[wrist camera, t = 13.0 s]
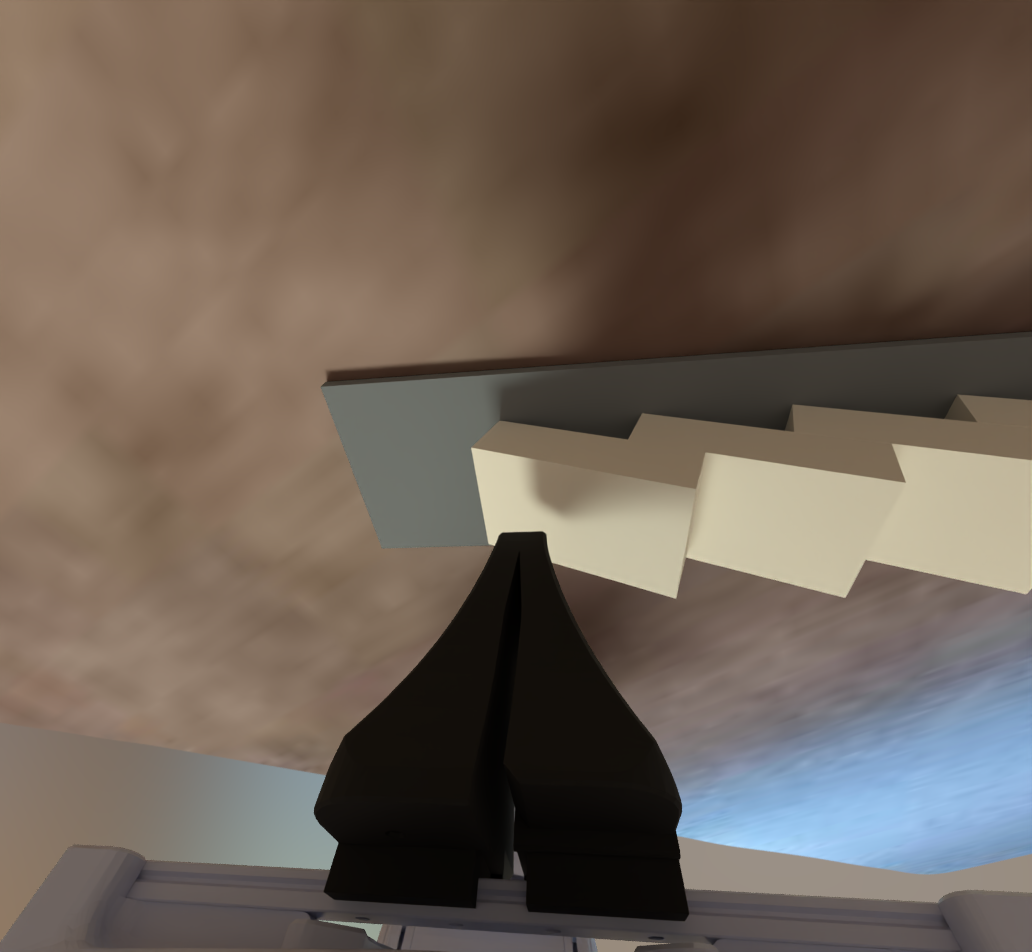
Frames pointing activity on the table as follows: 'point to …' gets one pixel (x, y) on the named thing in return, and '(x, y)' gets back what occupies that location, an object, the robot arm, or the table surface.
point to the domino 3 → (947, 493)
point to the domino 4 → (991, 410)
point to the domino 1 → (592, 500)
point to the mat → (630, 411)
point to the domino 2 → (784, 499)
